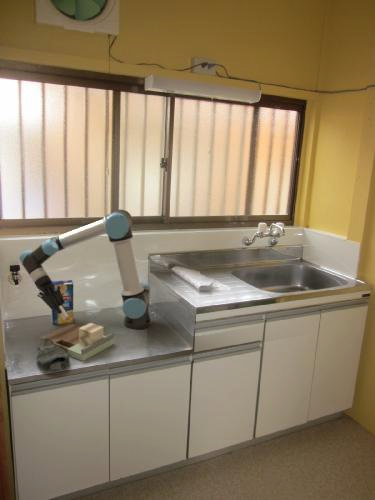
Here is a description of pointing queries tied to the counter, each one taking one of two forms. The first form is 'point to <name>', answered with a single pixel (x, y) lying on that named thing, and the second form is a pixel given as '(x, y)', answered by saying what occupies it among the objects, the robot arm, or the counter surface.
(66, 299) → the beverage box
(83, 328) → the birch block
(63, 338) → the box
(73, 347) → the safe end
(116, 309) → the counter surface
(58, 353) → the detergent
